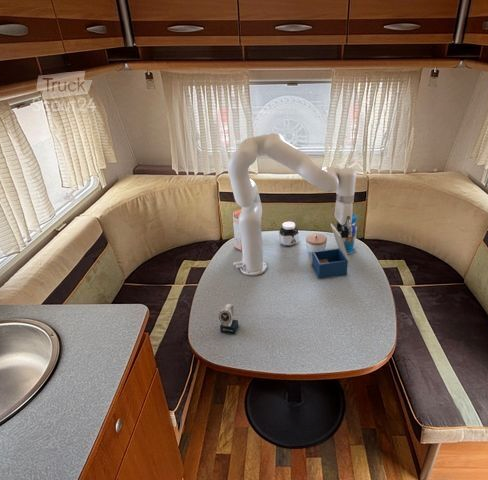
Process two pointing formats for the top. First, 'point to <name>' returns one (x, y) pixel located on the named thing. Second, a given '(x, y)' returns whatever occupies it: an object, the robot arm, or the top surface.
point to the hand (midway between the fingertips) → (342, 234)
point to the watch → (228, 320)
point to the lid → (339, 240)
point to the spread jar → (288, 234)
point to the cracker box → (237, 229)
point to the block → (323, 261)
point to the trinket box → (316, 242)
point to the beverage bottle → (351, 236)
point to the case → (335, 265)
